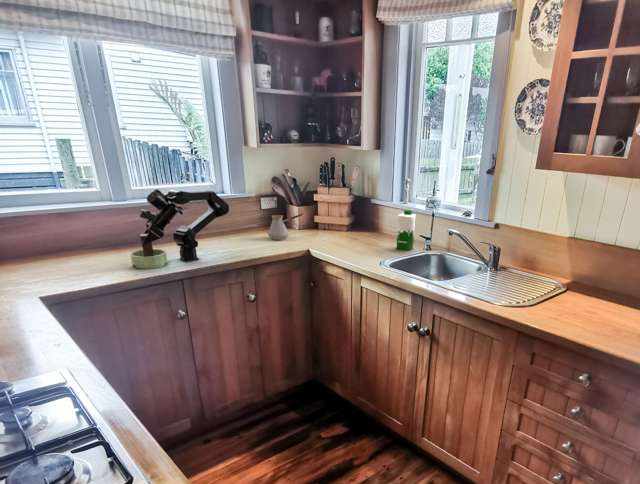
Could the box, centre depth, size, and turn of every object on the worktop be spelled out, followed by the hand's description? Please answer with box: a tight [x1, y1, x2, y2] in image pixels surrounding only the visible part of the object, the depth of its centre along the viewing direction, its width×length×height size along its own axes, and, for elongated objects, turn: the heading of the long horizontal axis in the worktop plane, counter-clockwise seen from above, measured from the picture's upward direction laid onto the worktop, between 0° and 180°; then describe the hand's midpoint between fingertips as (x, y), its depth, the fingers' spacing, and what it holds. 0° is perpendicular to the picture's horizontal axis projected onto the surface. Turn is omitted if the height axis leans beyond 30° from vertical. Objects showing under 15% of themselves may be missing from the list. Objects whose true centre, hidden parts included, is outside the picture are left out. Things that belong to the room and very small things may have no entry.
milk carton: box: [396, 209, 417, 252], centre depth 248 cm, size 9×9×20 cm
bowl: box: [129, 248, 168, 270], centre depth 208 cm, size 15×15×6 cm
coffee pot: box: [267, 213, 304, 241], centre depth 260 cm, size 21×12×15 cm, turn 78°
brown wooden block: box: [139, 233, 154, 257], centre depth 206 cm, size 4×4×12 cm
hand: (142, 242), depth 204 cm, fingers open, 9 cm apart
